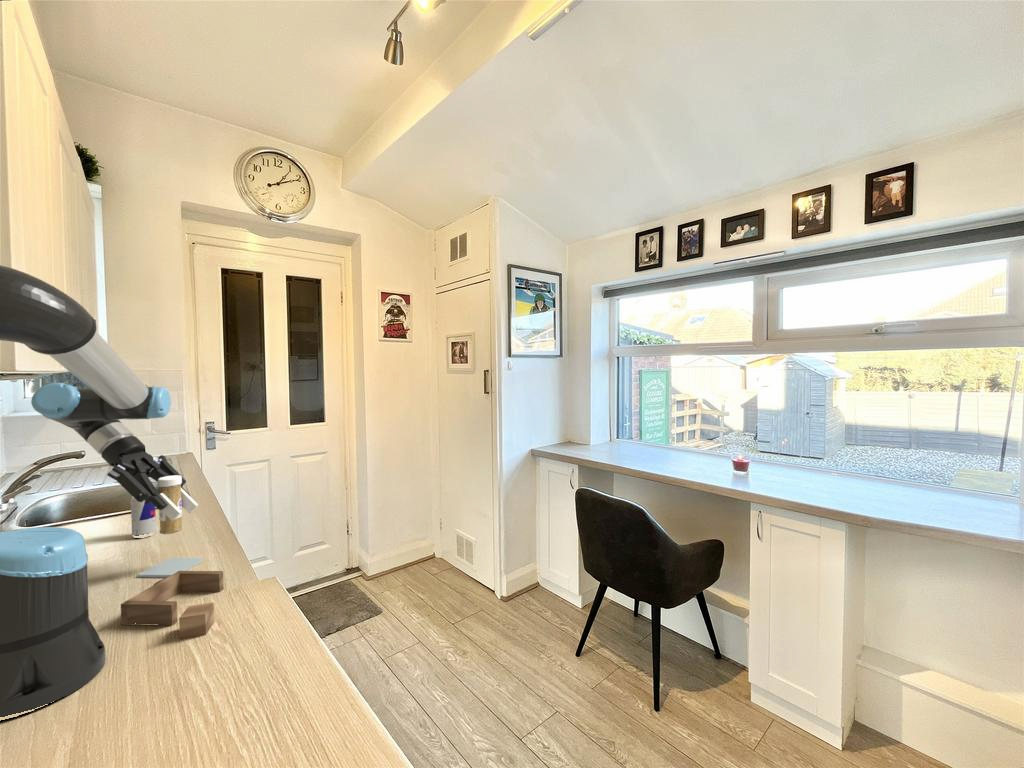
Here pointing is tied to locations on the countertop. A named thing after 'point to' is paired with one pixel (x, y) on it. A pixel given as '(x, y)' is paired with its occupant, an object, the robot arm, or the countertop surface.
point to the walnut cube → (196, 620)
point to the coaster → (170, 567)
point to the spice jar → (173, 492)
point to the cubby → (153, 600)
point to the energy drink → (142, 517)
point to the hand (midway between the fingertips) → (185, 512)
